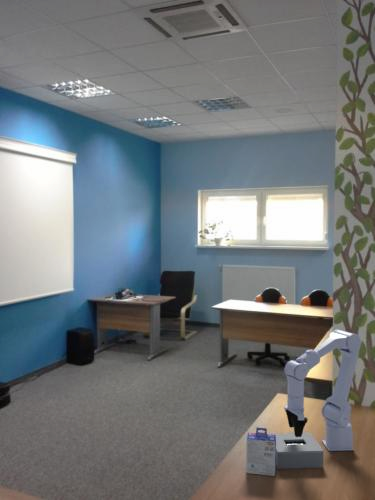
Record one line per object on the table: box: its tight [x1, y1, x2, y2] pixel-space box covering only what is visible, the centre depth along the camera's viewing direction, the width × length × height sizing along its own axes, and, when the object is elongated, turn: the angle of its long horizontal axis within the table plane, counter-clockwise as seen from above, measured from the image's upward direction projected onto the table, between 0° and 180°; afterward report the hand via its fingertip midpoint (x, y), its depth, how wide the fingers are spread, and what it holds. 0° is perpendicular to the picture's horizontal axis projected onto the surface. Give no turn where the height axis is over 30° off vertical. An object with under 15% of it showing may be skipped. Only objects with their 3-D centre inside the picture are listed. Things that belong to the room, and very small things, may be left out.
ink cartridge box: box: [246, 427, 277, 477], centre depth 160 cm, size 10×6×14 cm, turn 78°
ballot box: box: [272, 432, 324, 470], centre depth 169 cm, size 16×14×6 cm
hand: (295, 431), depth 169 cm, fingers open, 7 cm apart
